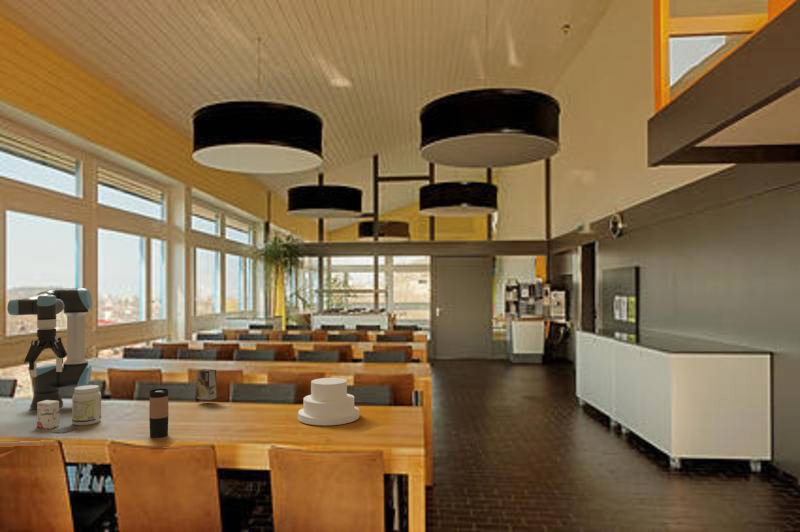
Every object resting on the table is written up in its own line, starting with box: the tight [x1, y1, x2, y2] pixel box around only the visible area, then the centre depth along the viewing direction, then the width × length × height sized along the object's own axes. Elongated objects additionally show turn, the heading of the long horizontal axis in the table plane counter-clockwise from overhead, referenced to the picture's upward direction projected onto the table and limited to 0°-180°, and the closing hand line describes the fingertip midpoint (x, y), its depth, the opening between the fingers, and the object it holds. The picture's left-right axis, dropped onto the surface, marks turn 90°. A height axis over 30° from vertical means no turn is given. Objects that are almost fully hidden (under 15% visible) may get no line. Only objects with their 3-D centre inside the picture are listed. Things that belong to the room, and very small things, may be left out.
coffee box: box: [196, 368, 217, 401], centre depth 311 cm, size 9×6×16 cm
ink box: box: [36, 400, 60, 430], centre depth 254 cm, size 9×5×12 cm, turn 72°
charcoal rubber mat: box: [49, 426, 78, 435], centre depth 248 cm, size 8×7×1 cm
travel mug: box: [148, 388, 169, 439], centre depth 238 cm, size 8×8×20 cm
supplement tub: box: [71, 384, 102, 426], centre depth 261 cm, size 12×12×17 cm
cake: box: [297, 377, 360, 426], centre depth 269 cm, size 30×30×18 cm
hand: (46, 374), depth 254 cm, fingers open, 13 cm apart
